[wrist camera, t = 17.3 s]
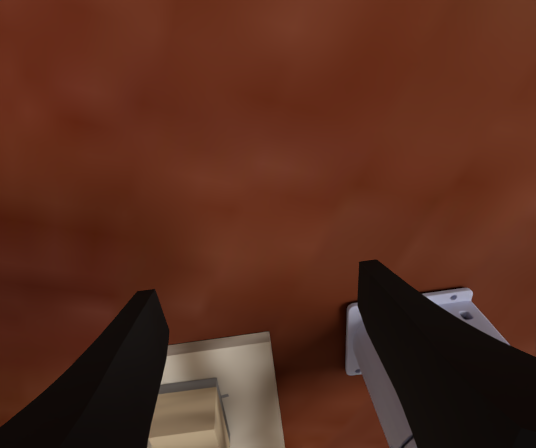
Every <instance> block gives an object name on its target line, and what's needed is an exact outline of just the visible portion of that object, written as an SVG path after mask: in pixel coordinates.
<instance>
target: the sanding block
mask: <svg viewBox="0 0 536 448" xmlns="http://www.w3.org/2000/svg"><path fill="white" fill-rule="evenodd" d="M148 439H149V441H150V443H151V445H152V447H153V448H230V431H229V427H228V423H227V419H226V414H225V410H224V406H223V402H222V398H221V393H220V389H219V385H218V381H217V378H210V379H203V380H195V381H187V382H179V383H171V384H164V385H160V389H159V393H158V398H157V402H156V406H155V410H154V414H153V419H152V423H151V428H150V433H149V438H148Z"/></svg>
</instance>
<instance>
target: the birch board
mask: <svg viewBox="0 0 536 448" xmlns="http://www.w3.org/2000/svg"><path fill="white" fill-rule="evenodd" d="M210 378H217V381H218V385H219V389H220V393H221V398H222V402H223V406H224V410H225V414H226V419H227V423H228V427H229V431H230V448H285V444H284V437H283V430H282V422H281V415H280V407H279V400H278V393H277V385H276V378H275V371H274V363H273V356H272V348H271V341H270V334H269V332H261V333H254V334H247V335H240V336H233V337H225V338H218V339H211V340H204V341H196V342H189V343H182V344H175V345H168V350H167V359H166V363H165V368H164V372H163V377H162V381H161V385H164V384H171V383H179V382H187V381H195V380H203V379H210ZM147 448H153V447H152V445H151V443H150V441H149V439H148V445H147Z"/></svg>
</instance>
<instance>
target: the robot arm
mask: <svg viewBox="0 0 536 448" xmlns="http://www.w3.org/2000/svg"><path fill="white" fill-rule="evenodd" d="M472 295H473V292H472V291H471V290H470V289H469V288H460V289H453V290H445V291H438V292H431V293H423V294H421V293H420V292H418V291H417V290H416V289H414V288H413V287H411V286H410V285H409V284H407V283H406V282H405V281H404V280H402V279H401V278H400V277H398V276H397V275H396V274H394V273H393V272H392V271H391V270H389V269H388V268H387V267H386V266H384V265H383V264H382V263H380V262H379V261H378V260H369V261H362V262H359V280H358V302H357V303H352V304H350V305H349V306H348V307H347V323H346V361H345V370H346V373H347V374H348V375H359V374H362V375H363V378H364V381H365V383H366V386H367V389H368V391H369V394H370V397H371V399H372V402H373V404H374V407H375V410H376V412H377V415H378V418H379V420H380V423H381V426H382V428H383V431H384V434H385V436H386V439H387V442H388V444H389V447H390V448H536V357H534V356H532V355H530V354H527V353H525V352H523V351H521V350H519V349H516V348H514V347H512V346H511V345H510V344H509V343H508V342H507V341H506V340H505V339H504V338H503V336H502V335H501V334H500V333H499V332H498V331H497V330H496V328H495V327H494V326H493V325H492V324H491V323H490V322H489V321H488V319H487V318H486V317H485V316H484V315H483V314H482V313H481V312H480V310H479V309H478V308H477V307H476V306H475V305H474V304H473V303H472V301H471V299H472ZM168 341H169V328H168V325H167V322H166V320H165V317H164V314H163V311H162V308H161V305H160V302H159V299H158V296H157V293H156V291H155V289H152V290H145V291H137V293H136V294H135V295H134V296H133V297H132V298H131V299H130V301H129V302H128V303H127V304H126V305H125V307H124V308H123V309H122V310H121V311H120V313H119V314H118V315H117V316H116V317H115V319H114V320H113V321H112V322H111V323H110V324H109V326H108V327H107V328H106V329H105V330H104V331H103V332H102V334H101V335H100V336H99V337H98V338H97V339H96V340H95V341H94V342H93V343H92V345H91V346H90V347H89V348H88V349H87V350H86V351H85V352H84V353H83V354H82V355H81V356H80V357H79V358H78V359H77V360H76V362H75V363H74V364H73V365H72V366H71V367H70V368H69V369H68V370H66V371H65V372H64V373H63V374H62V375H61V376H60V377H59V378H58V379H57V380H56V381H55V382H54V383H53V384H51V385H50V386H49V387H48V388H47V389H46V390H45V391H44V392H43V393H42V394H40V395H39V396H38V397H37V398H36V399H34V400H33V401H32V402H31V403H30V404H28V405H27V406H26V407H25V408H24V409H22V410H21V411H20V412H19V413H17V414H16V415H15V416H14V417H13V418H11V419H10V420H9V421H8V422H7V423H5V424H4V425H3V426H1V427H0V448H147V445H148V438H149V433H150V428H151V423H152V419H153V414H154V410H155V406H156V402H157V398H158V393H159V389H160V385H161V381H162V377H163V372H164V368H165V363H166V359H167V350H168Z"/></svg>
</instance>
